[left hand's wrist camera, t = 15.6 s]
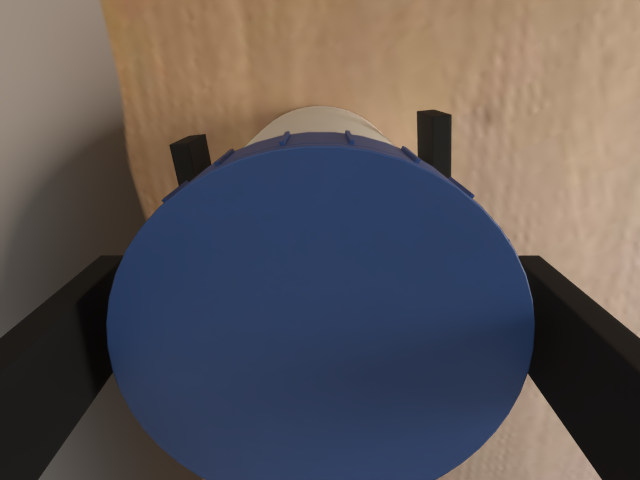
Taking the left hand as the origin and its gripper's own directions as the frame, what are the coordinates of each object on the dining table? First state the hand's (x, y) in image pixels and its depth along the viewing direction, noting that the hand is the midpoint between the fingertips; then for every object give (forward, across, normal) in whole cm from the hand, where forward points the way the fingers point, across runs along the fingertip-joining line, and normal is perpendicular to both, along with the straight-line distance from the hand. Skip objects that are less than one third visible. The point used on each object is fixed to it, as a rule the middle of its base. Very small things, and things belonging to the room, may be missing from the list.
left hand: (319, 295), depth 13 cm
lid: (-3, 0, 0) cm, 3 cm away
